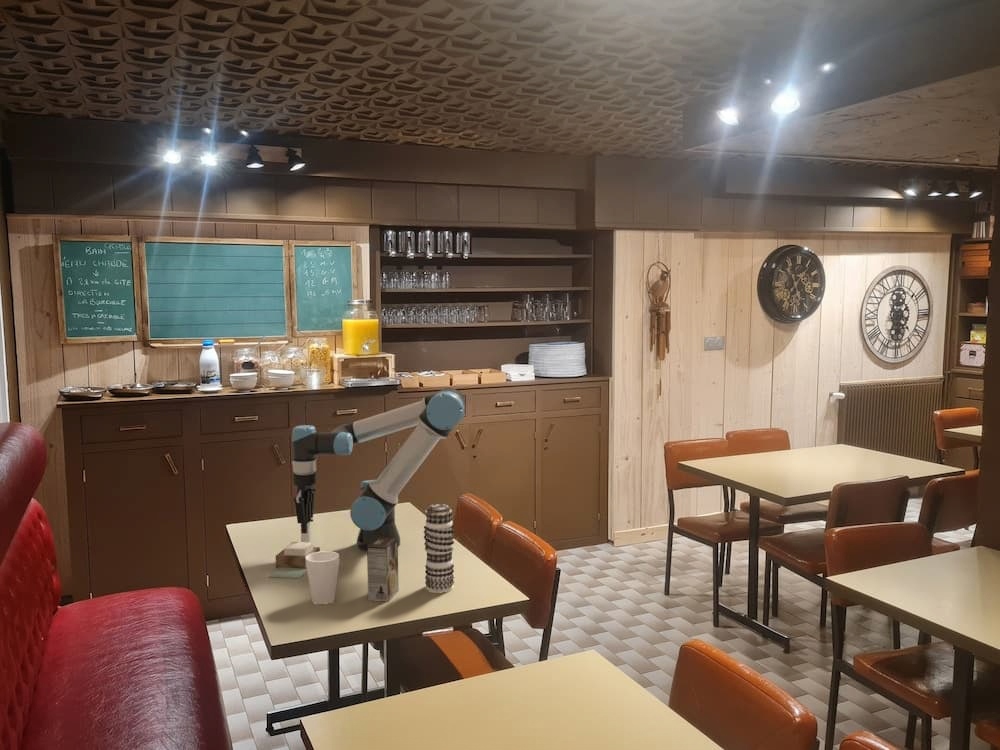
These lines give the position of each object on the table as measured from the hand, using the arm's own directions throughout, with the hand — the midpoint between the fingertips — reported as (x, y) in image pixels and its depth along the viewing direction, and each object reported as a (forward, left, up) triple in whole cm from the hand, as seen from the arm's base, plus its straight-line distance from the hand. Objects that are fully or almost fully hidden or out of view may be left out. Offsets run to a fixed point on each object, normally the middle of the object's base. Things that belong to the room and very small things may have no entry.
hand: (305, 541), depth 257 cm
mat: (-1, +16, -5) cm, 17 cm away
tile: (0, +7, -1) cm, 7 cm away
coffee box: (-35, +29, -6) cm, 46 cm away
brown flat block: (0, +6, -5) cm, 8 cm away
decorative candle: (-50, +21, -6) cm, 55 cm away
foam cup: (-19, +35, -6) cm, 41 cm away
